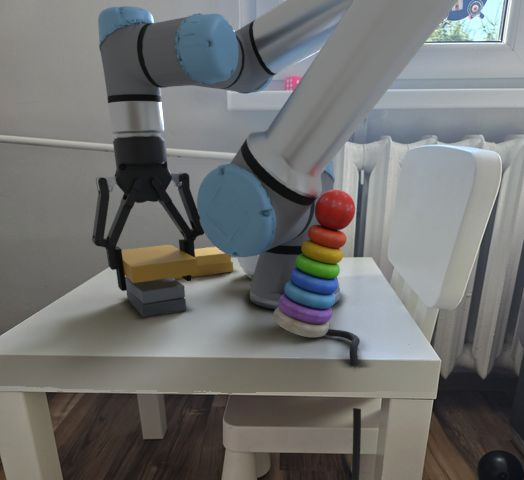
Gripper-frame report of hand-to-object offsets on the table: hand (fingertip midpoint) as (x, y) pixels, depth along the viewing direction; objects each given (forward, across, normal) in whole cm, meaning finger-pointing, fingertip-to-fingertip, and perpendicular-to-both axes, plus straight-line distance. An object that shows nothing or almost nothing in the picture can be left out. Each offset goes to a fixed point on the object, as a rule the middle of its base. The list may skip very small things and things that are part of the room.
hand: (155, 284), depth 81 cm
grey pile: (+4, 0, 0) cm, 4 cm away
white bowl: (+4, -24, -8) cm, 25 cm away
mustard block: (-2, 0, 0) cm, 2 cm away
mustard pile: (+3, -14, -18) cm, 23 cm away
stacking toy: (+3, -14, +23) cm, 27 cm away
